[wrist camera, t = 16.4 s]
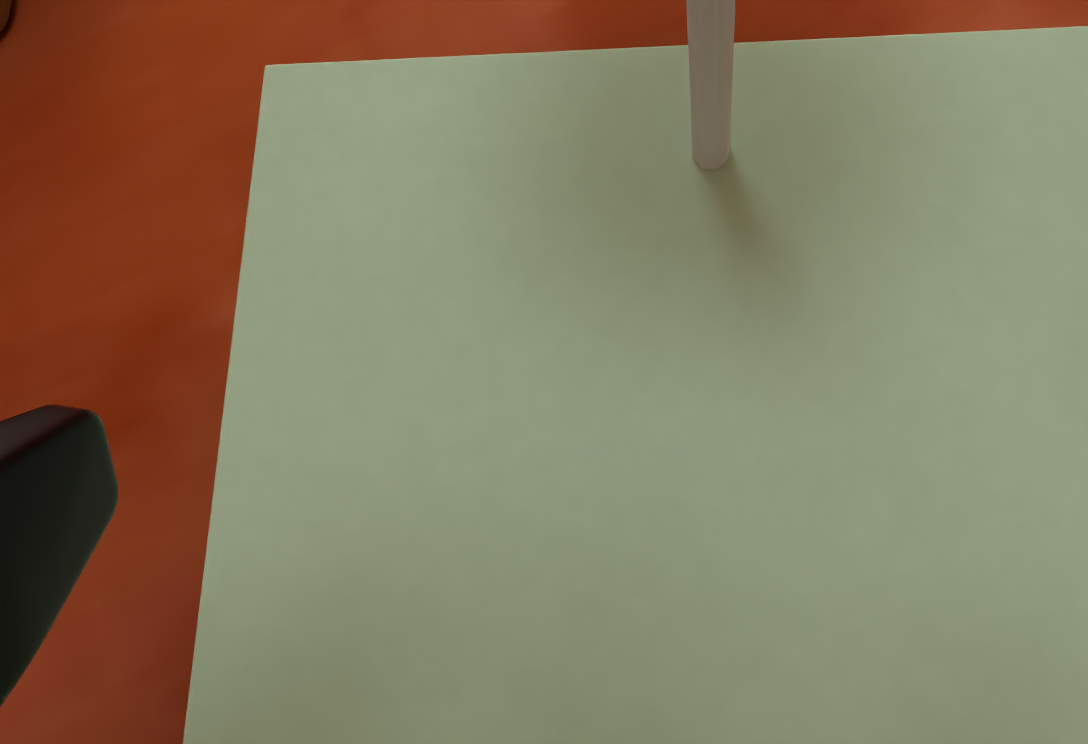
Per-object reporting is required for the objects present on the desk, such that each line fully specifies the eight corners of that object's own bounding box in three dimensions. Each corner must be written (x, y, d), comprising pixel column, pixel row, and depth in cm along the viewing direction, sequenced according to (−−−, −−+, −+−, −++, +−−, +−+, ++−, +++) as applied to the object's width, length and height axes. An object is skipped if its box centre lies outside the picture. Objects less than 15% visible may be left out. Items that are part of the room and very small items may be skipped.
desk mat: (1404, 1387, 14) (1424, 1407, 13) (137, 1201, 16) (124, 1216, 16) (1225, 30, 18) (1236, 17, 18) (272, 74, 21) (263, 64, 21)
